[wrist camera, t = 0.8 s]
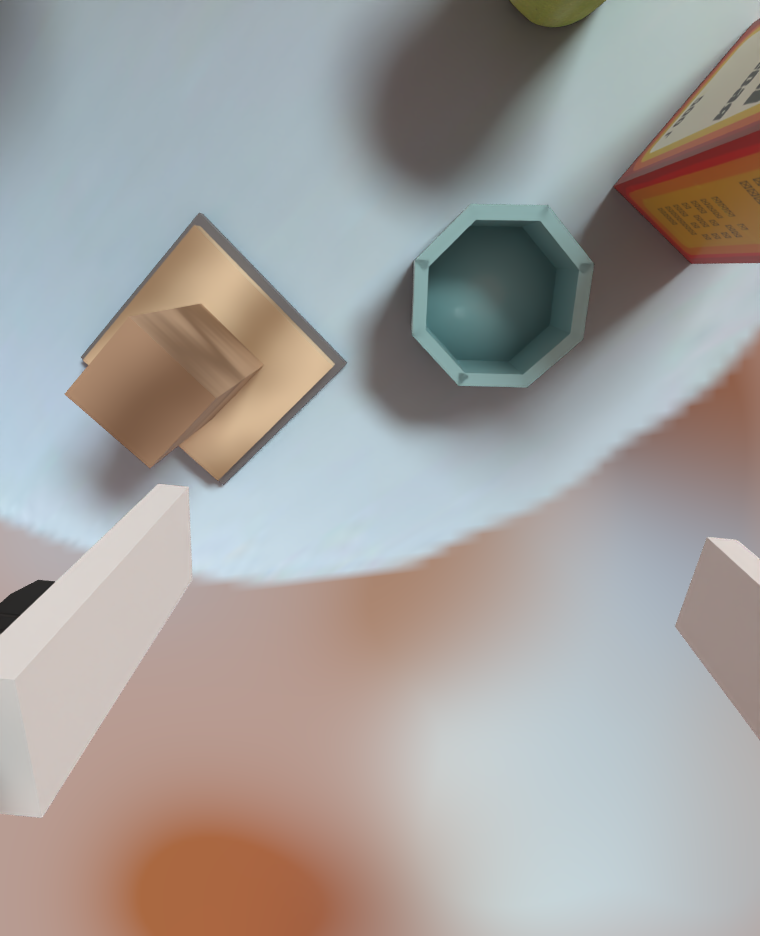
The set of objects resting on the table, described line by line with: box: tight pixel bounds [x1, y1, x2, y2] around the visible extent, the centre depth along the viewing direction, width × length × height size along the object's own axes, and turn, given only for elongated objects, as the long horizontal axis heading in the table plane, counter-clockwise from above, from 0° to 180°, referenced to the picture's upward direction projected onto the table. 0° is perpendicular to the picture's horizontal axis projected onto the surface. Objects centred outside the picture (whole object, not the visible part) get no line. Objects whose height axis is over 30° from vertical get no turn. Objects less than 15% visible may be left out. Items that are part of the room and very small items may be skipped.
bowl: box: [411, 204, 595, 388], centre depth 30 cm, size 9×9×5 cm
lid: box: [65, 225, 335, 481], centre depth 30 cm, size 11×11×10 cm
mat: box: [81, 213, 347, 485], centre depth 35 cm, size 12×12×1 cm
